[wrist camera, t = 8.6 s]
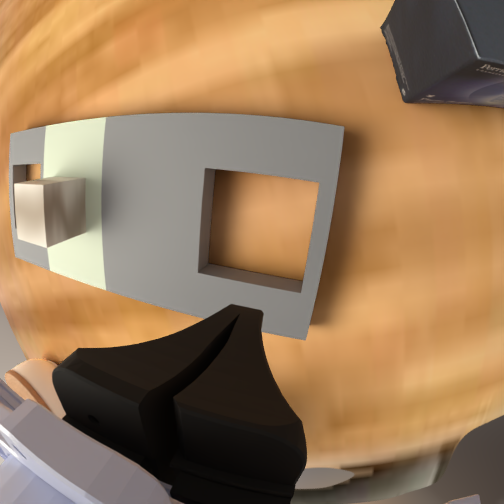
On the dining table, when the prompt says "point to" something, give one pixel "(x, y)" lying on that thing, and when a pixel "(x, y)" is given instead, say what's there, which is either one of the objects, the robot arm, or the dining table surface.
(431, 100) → the small box
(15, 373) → the lidded jar
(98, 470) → the robot arm
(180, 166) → the plate
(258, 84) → the dining table surface
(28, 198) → the block
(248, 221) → the dining table surface
